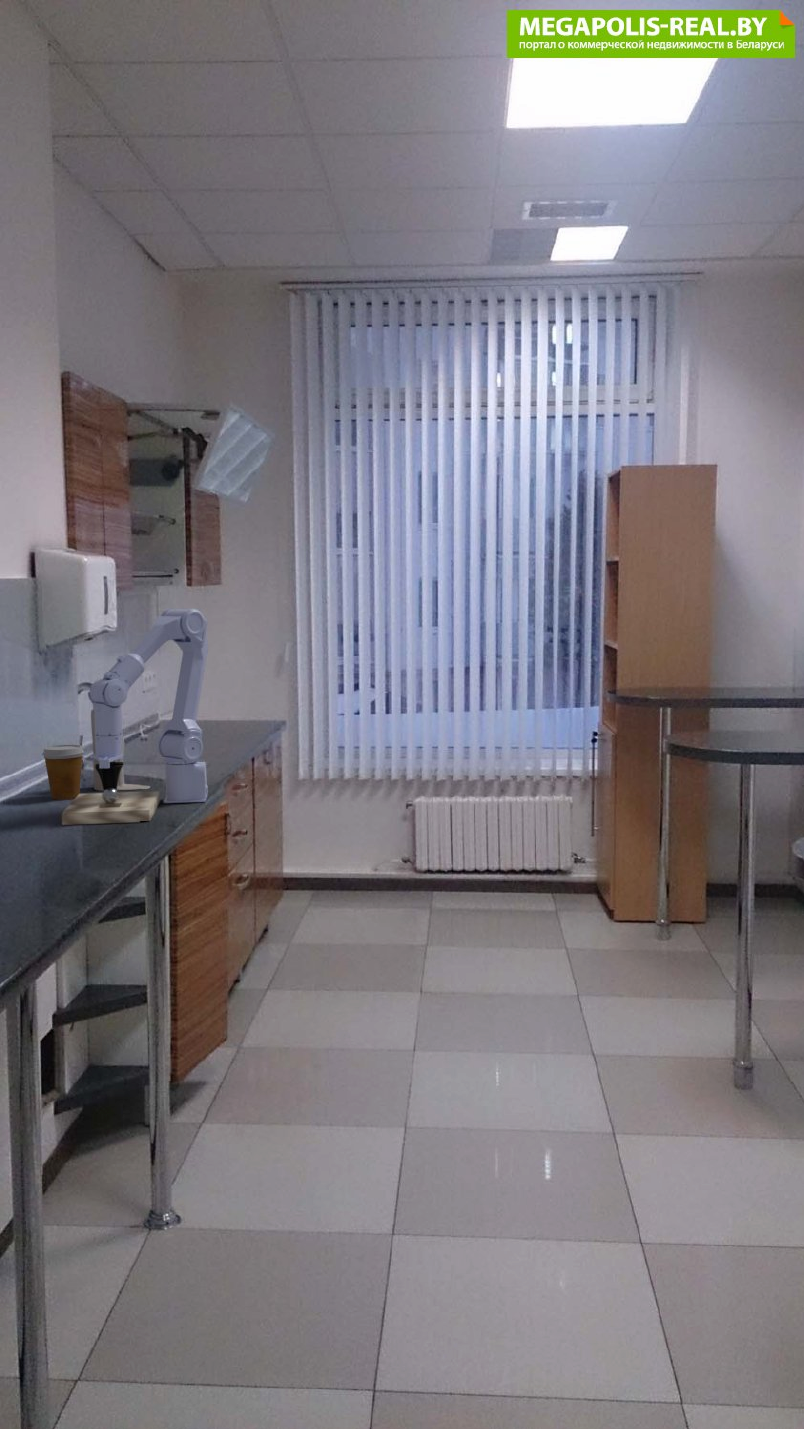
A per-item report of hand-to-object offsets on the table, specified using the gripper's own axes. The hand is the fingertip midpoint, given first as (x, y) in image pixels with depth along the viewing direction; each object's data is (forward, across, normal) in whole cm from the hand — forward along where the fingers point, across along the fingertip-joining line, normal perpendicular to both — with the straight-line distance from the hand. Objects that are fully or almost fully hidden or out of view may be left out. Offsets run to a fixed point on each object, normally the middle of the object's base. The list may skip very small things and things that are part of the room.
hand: (110, 796), depth 249 cm
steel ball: (0, +1, 0) cm, 1 cm away
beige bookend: (+4, -32, -2) cm, 32 cm away
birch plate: (+4, -1, 0) cm, 4 cm away
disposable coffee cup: (+4, -22, -14) cm, 26 cm away
